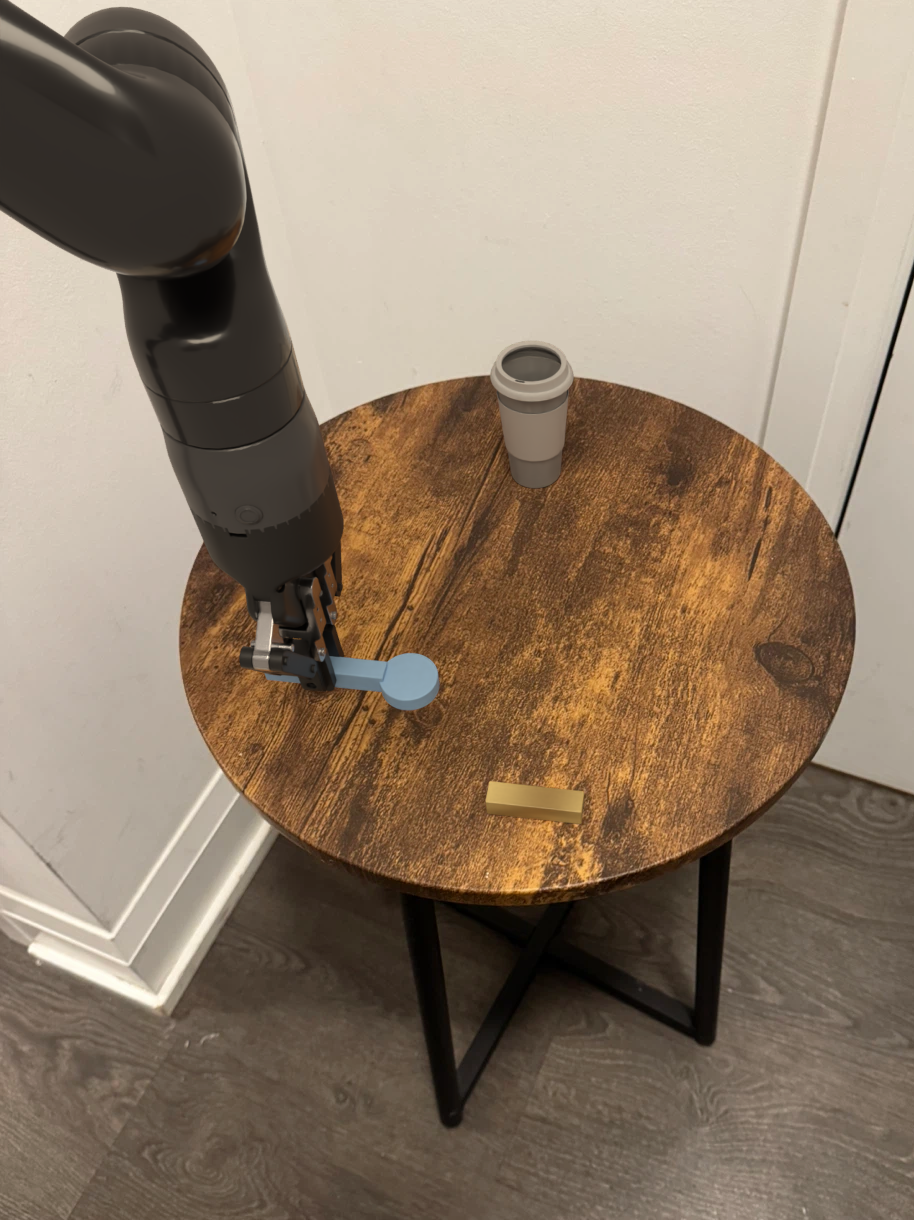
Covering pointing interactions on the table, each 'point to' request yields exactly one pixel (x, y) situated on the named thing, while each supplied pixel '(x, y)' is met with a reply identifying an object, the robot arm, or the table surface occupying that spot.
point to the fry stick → (535, 802)
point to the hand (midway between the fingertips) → (323, 673)
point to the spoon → (386, 678)
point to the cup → (533, 409)
